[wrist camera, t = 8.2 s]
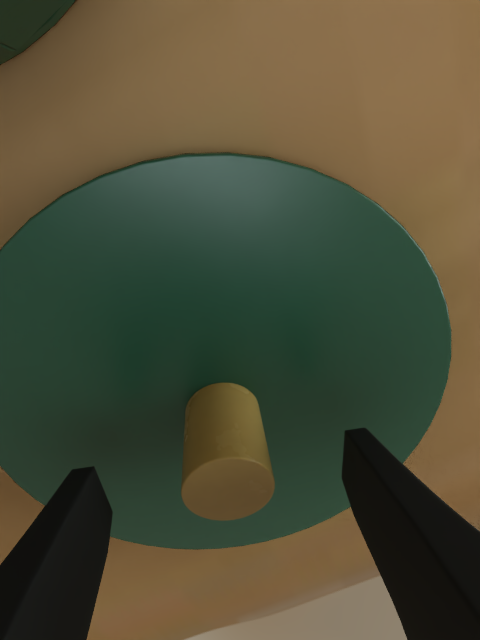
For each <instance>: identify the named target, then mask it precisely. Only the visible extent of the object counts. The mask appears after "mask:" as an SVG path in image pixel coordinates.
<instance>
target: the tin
mask: <svg viewBox="0 0 480 640" xmlns="http://www.w3.org/2000/svg"><path fill="white" fill-rule="evenodd" d="M74 2H75V0H0V64H2V63H4V62H6V61H7V60H9V59H11V58H13V57H14V56H16V55H18V54H20V53H21V52H23V51H24V50H25V49H26V48H28V47H29V46H30V45H31V44H32V43H34V42H35V41H36V40H37V39H38V38H40V37H41V36H42V35H43V34H44V33H46V32H47V31H48V30H49V29H50V28H52V27H53V26H54V25H55V24H56V23H57V22H58V21H59V19H60V18H61V17H62V16H63V15H64V13H65V12H66V11H67V10H68V9H69V8H70V6H71V5H72V4H73V3H74Z"/></svg>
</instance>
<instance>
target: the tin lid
mask: <svg viewBox="0 0 480 640" xmlns="http://www.w3.org/2000/svg"><path fill="white" fill-rule="evenodd" d="M450 360H451V327H450V321H449V315H448V309H447V304H446V301H445V298H444V295H443V292H442V289H441V286H440V283H439V281H438V278H437V276H436V274H435V272H434V270H433V269H432V267H431V265H430V263H429V261H428V259H427V258H426V256H425V254H424V252H423V251H422V249H421V248H420V247H419V246H418V244H417V243H416V242H415V241H414V239H413V238H412V237H411V236H410V234H409V233H408V232H407V231H406V229H405V228H404V227H403V226H402V225H401V224H400V223H399V222H398V221H396V220H395V219H394V218H393V217H392V216H391V215H390V214H389V213H387V212H386V211H385V210H384V209H383V208H382V207H381V206H380V205H379V204H377V203H376V202H374V201H373V200H371V199H369V198H368V197H366V196H365V195H363V194H362V193H360V192H358V191H357V190H355V189H354V188H352V187H351V186H349V185H347V184H345V183H343V182H341V181H339V180H336V179H334V178H332V177H329V176H327V175H325V174H323V173H320V172H318V171H316V170H313V169H311V168H308V167H304V166H300V165H297V164H293V163H289V162H286V161H282V160H278V159H274V158H271V157H265V156H256V155H248V154H239V153H230V152H217V153H185V154H180V155H174V156H168V157H163V158H157V159H151V160H146V161H142V162H139V163H136V164H133V165H130V166H127V167H124V168H121V169H118V170H115V171H112V172H109V173H106V174H103V175H101V176H98V177H96V178H95V179H93V180H91V181H89V182H87V183H85V184H83V185H81V186H79V187H77V188H75V189H73V190H71V191H69V192H67V193H65V194H63V195H62V196H60V197H59V198H58V199H56V200H55V201H53V202H52V203H51V204H49V205H48V206H47V207H45V208H44V209H42V210H41V211H40V212H38V213H37V214H36V215H34V216H33V217H31V218H30V219H29V220H28V221H27V222H26V223H25V224H24V225H23V226H22V227H21V228H20V229H19V230H18V231H17V232H16V233H15V234H14V235H13V236H12V237H11V238H10V239H9V241H8V242H7V243H6V244H5V245H4V246H3V247H2V248H1V250H0V466H1V467H2V468H3V469H4V471H5V472H6V473H7V474H8V475H9V476H10V477H11V478H12V479H13V480H14V481H15V482H16V483H17V484H18V485H19V486H20V487H21V488H23V489H24V490H25V491H26V492H27V493H29V494H30V495H31V496H32V497H33V498H34V499H36V500H37V501H39V502H40V503H42V504H43V505H46V504H47V503H48V501H49V500H50V499H51V497H52V496H53V494H54V493H55V492H56V490H57V489H58V488H59V486H60V485H61V483H62V482H63V481H64V479H65V478H66V477H67V475H68V474H69V473H70V471H71V470H72V469H78V468H85V467H92V466H94V467H95V469H96V472H97V474H98V477H99V479H100V482H101V484H102V486H103V489H104V491H105V494H106V496H107V499H108V501H109V503H110V506H111V508H112V511H113V516H112V524H111V532H110V537H114V538H117V539H121V540H124V541H128V542H133V543H138V544H143V545H148V546H156V547H164V548H174V549H219V548H228V547H237V546H244V545H249V544H255V543H260V542H265V541H269V540H272V539H276V538H280V537H283V536H287V535H290V534H293V533H295V532H298V531H301V530H304V529H307V528H309V527H312V526H314V525H316V524H318V523H320V522H323V521H325V520H327V519H329V518H331V517H333V516H335V515H337V514H338V513H340V512H342V511H344V510H345V509H347V508H349V507H351V506H350V503H349V500H348V497H347V494H346V490H345V487H344V484H343V481H342V478H341V476H342V462H343V448H344V434H345V430H350V429H357V428H364V427H365V428H367V429H368V430H369V431H370V432H371V433H372V434H373V435H374V436H375V437H376V438H377V439H378V440H379V441H380V442H381V443H382V444H383V445H384V446H385V447H386V448H387V449H388V450H389V451H390V452H391V453H392V454H393V455H394V456H395V457H396V458H397V459H398V460H399V461H400V462H401V463H402V464H403V463H404V461H405V460H406V459H407V458H408V456H409V455H410V454H411V453H412V451H413V450H414V449H415V448H416V446H417V445H418V444H419V442H420V440H421V439H422V437H423V436H424V434H425V432H426V431H427V429H428V428H429V426H430V424H431V422H432V420H433V418H434V416H435V414H436V411H437V409H438V407H439V405H440V403H441V399H442V396H443V393H444V390H445V386H446V383H447V379H448V373H449V367H450Z"/></svg>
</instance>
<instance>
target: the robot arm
mask: <svg viewBox="0 0 480 640" xmlns="http://www.w3.org/2000/svg"><path fill="white" fill-rule="evenodd" d="M341 478H342V481H343V484H344V487H345V490H346V494H347V497H348V500H349V503H350V506H351V508H352V511H353V514H354V517H355V519H356V521H357V523H358V526H359V528H360V530H361V532H362V535H363V537H364V539H365V541H366V544H367V546H368V548H369V550H370V552H371V555H372V557H373V559H374V561H375V563H376V566H377V568H378V570H379V572H380V574H381V577H382V579H383V581H384V583H385V586H386V588H387V590H388V592H389V594H390V597H391V599H392V601H393V603H394V606H395V608H396V611H397V613H398V616H399V618H400V620H401V623H402V626H403V629H404V631H405V634H406V636H407V640H480V531H478V530H477V529H476V528H475V527H473V526H472V525H471V524H470V523H468V522H467V521H466V520H465V519H464V518H462V517H461V516H460V515H459V514H458V513H457V512H455V511H454V510H453V509H452V508H451V507H449V506H448V505H447V504H446V503H445V502H444V501H443V500H441V499H440V498H439V497H438V496H437V495H436V494H435V493H433V492H432V491H431V490H430V489H429V488H428V487H427V486H426V485H425V484H424V483H423V482H421V481H420V480H419V479H418V478H417V477H416V476H415V475H414V474H413V473H412V472H411V471H410V470H409V469H407V468H406V467H405V466H404V465H403V464H402V463H401V462H400V461H399V460H398V459H397V458H396V457H395V456H394V455H393V454H392V453H391V452H390V451H389V450H388V449H387V448H386V447H385V446H384V445H383V444H382V443H381V442H380V441H379V440H378V439H377V438H376V437H375V436H374V435H373V434H372V433H371V432H370V431H369V430H368V429H367V428H365V427H364V428H357V429H350V430H345V434H344V448H343V462H342V476H341ZM112 516H113V511H112V508H111V506H110V503H109V501H108V499H107V496H106V494H105V491H104V489H103V486H102V484H101V482H100V479H99V477H98V474H97V472H96V469H95V467H94V466H92V467H85V468H78V469H72V470H71V471H70V473H69V474H68V475H67V477H66V478H65V479H64V481H63V482H62V483H61V485H60V486H59V488H58V489H57V490H56V492H55V493H54V494H53V496H52V497H51V499H50V500H49V501H48V503H47V504H46V505H45V507H44V508H43V510H42V511H41V512H40V514H39V515H38V516H37V518H36V519H35V520H34V522H33V523H32V524H31V526H30V527H29V528H28V530H27V531H26V532H25V534H24V535H23V536H22V538H21V539H20V540H19V542H18V543H17V544H16V545H15V547H14V548H13V549H12V551H11V552H10V553H9V555H8V556H7V557H6V558H5V560H4V561H3V562H2V563H1V565H0V640H86V639H87V635H88V631H89V627H90V623H91V619H92V615H93V611H94V607H95V603H96V598H97V594H98V590H99V586H100V582H101V578H102V574H103V570H104V566H105V561H106V557H107V553H108V546H109V539H110V532H111V524H112Z"/></svg>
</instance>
